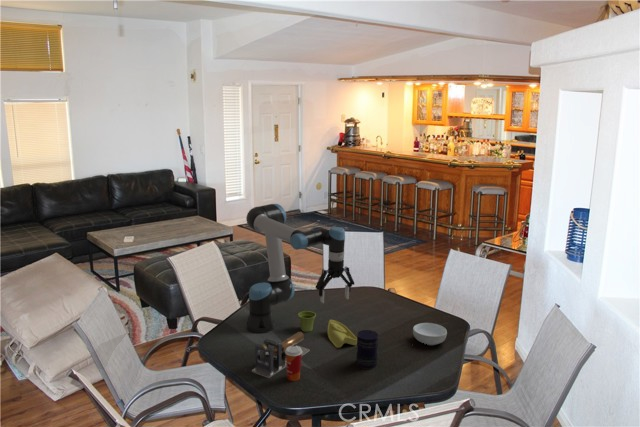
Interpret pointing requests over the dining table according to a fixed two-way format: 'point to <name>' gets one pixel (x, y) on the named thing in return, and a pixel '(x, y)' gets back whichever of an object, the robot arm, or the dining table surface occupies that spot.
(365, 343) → the storage jar
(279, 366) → the rail
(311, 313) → the plant pot
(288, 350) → the paper cup
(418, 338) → the cereal bowl
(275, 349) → the copper tube
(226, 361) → the dining table surface
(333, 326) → the plastic component
